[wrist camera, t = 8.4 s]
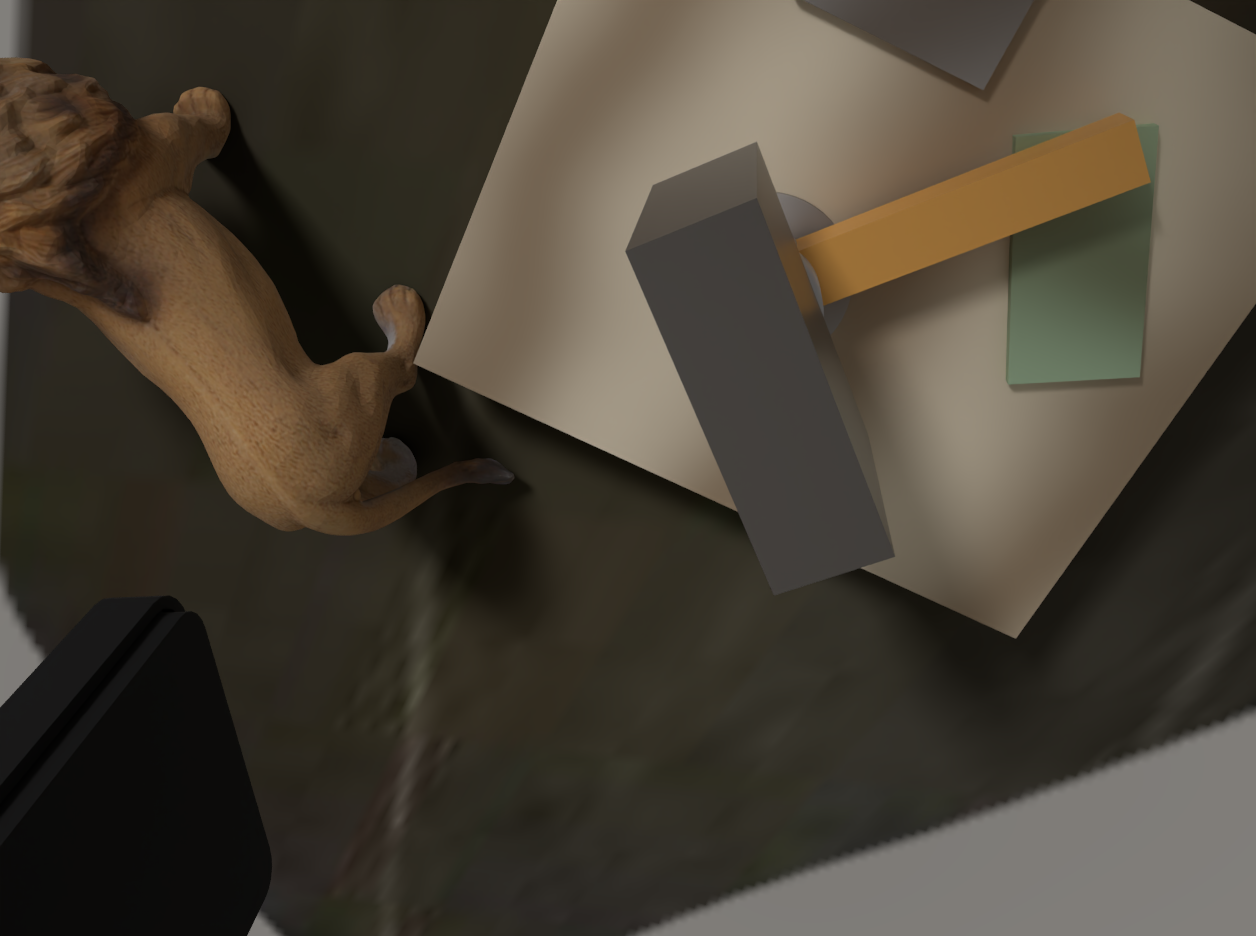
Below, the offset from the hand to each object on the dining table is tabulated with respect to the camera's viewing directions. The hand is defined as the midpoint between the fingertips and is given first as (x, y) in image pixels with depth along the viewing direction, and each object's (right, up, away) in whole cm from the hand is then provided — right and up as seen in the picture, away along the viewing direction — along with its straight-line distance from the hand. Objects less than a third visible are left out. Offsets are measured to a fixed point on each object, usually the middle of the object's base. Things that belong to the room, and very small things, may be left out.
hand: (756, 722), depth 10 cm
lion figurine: (-10, +7, +19) cm, 22 cm away
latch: (+5, +7, +14) cm, 16 cm away
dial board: (+4, +8, +17) cm, 19 cm away
